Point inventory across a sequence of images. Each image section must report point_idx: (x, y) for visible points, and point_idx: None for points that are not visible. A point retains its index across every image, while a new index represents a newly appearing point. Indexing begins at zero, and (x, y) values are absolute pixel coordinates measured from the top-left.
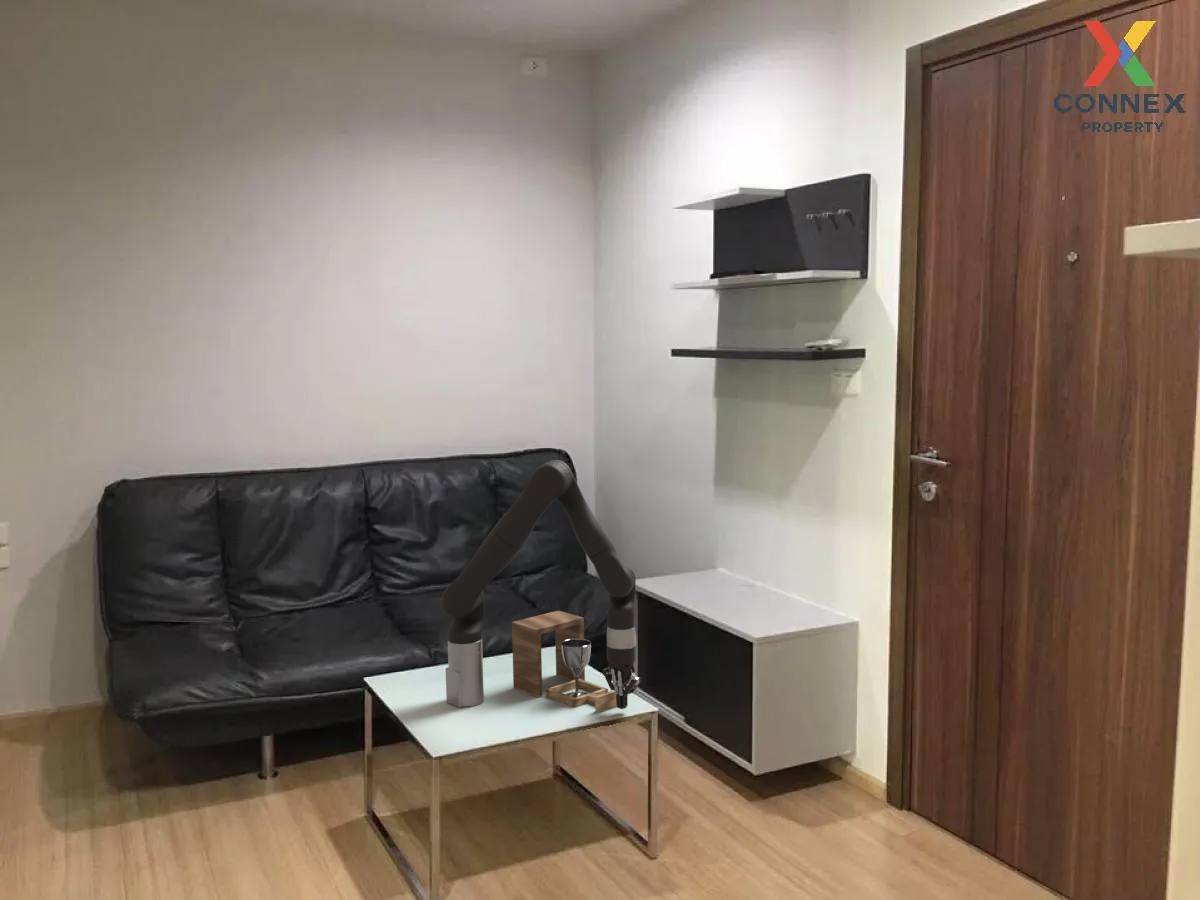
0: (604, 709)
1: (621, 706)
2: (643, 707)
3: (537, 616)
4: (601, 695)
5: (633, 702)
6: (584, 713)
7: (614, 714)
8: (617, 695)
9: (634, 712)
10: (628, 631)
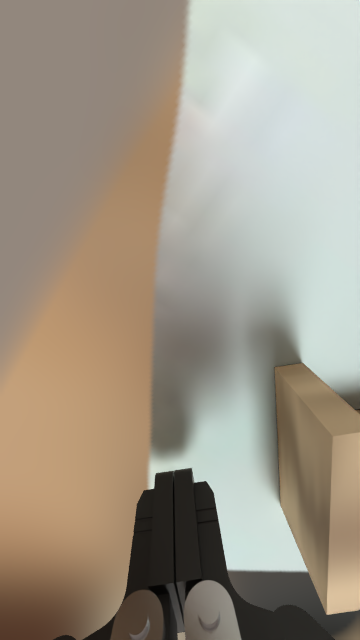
0: (278, 412)
1: (156, 491)
2: None
3: None
4: (349, 478)
5: (262, 555)
6: (323, 287)
7: (188, 420)
8: (190, 571)
9: None
10: None
